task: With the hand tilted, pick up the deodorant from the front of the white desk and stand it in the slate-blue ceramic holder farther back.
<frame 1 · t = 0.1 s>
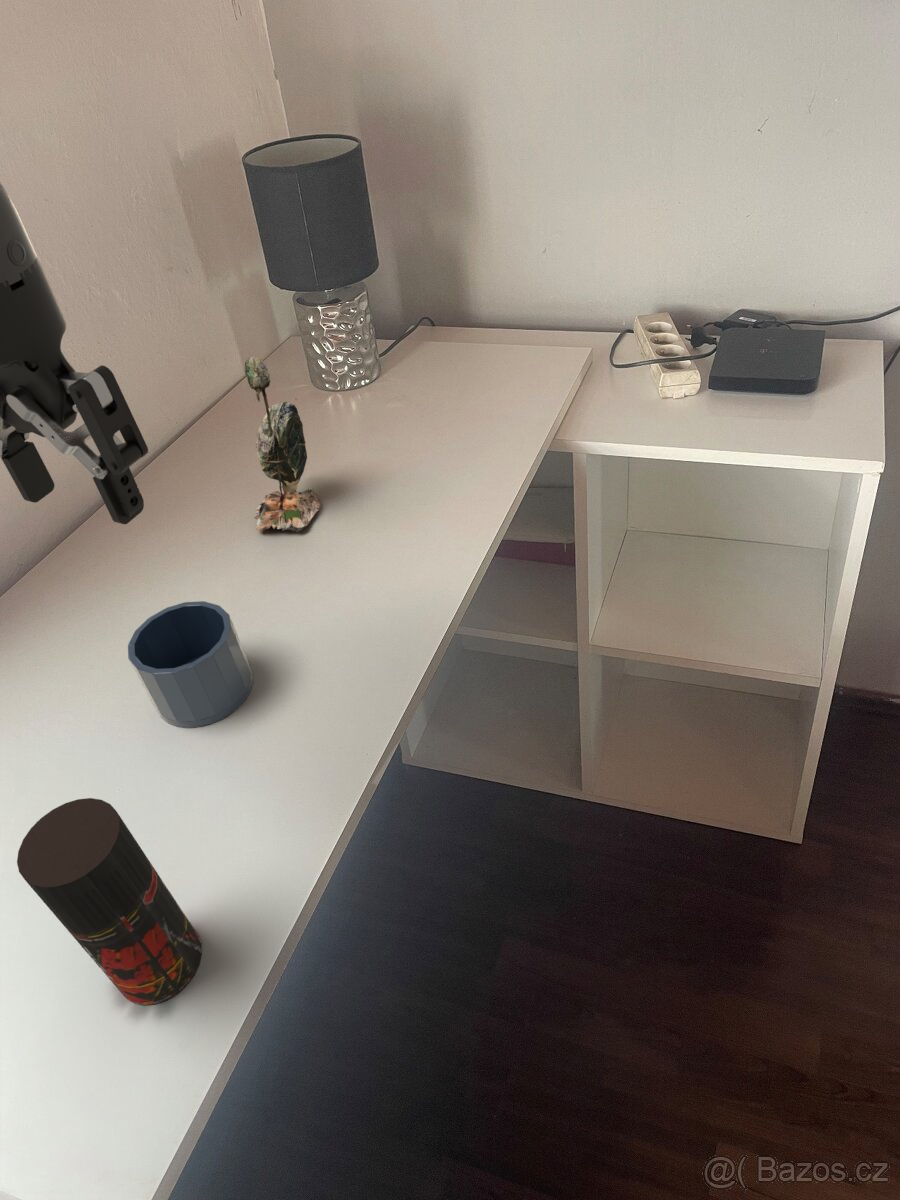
hand: (85, 506, 59), 25 cm above the table, tool pointing down, fingers open, 8 cm apart
plant with pod: (292, 509, 101), on the table
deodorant: (160, 963, 60), on the table
holder: (204, 690, 80), on the table
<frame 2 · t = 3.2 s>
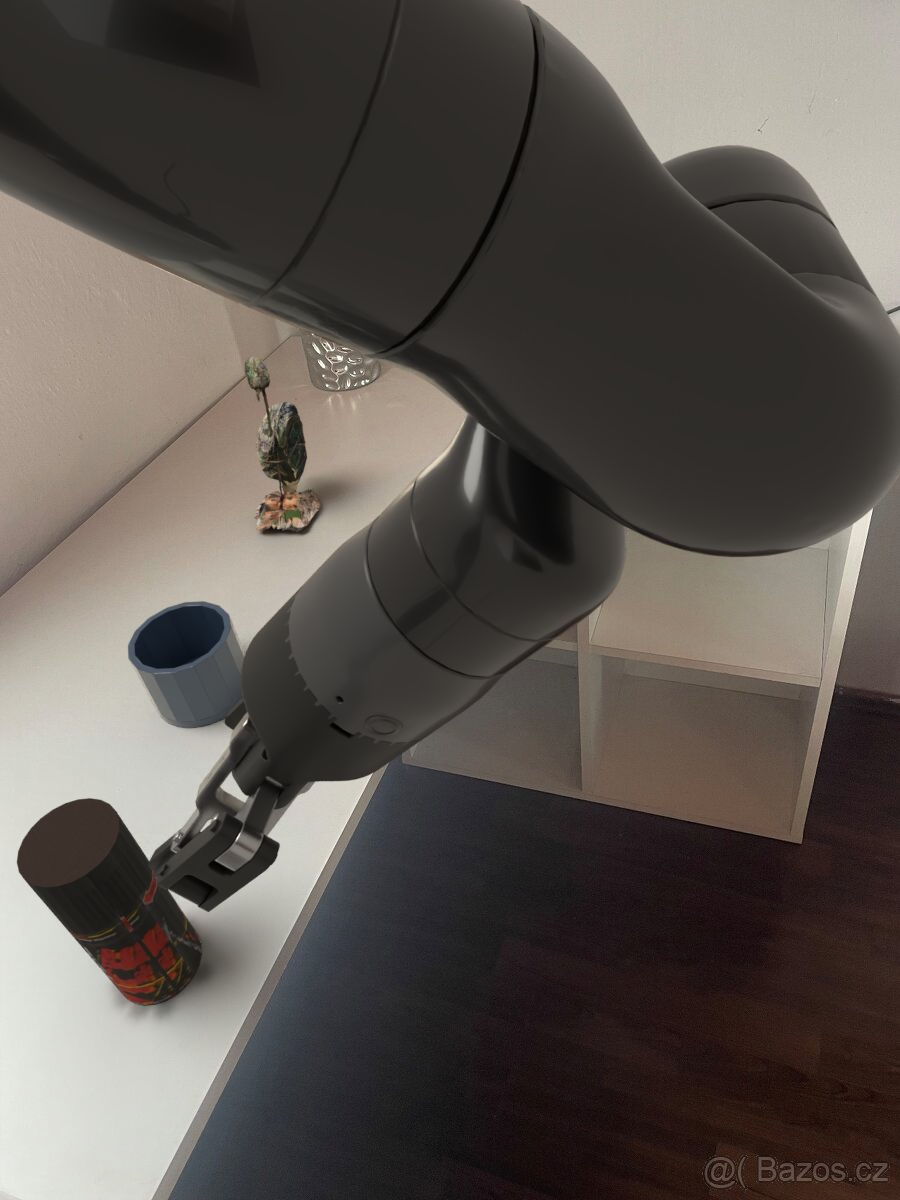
hand: (207, 795, 43), 22 cm above the table, tool tilted 45°, fingers open, 8 cm apart
nothing on the table moved.
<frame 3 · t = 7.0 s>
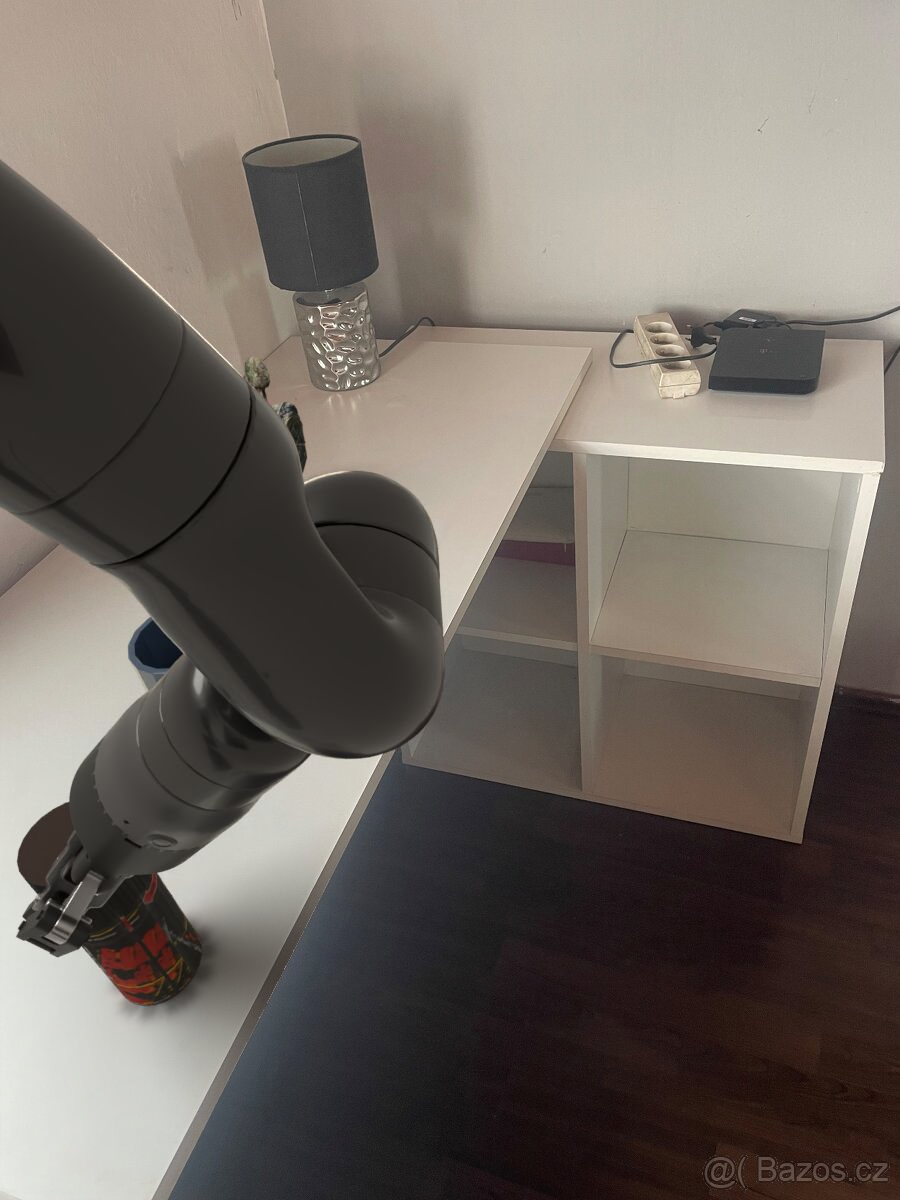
hand: (70, 871, 53), 11 cm above the table, tool tilted 45°, fingers closed on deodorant, 6 cm apart
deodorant: (160, 963, 60), on the table, touching gripper
everything else where it was.
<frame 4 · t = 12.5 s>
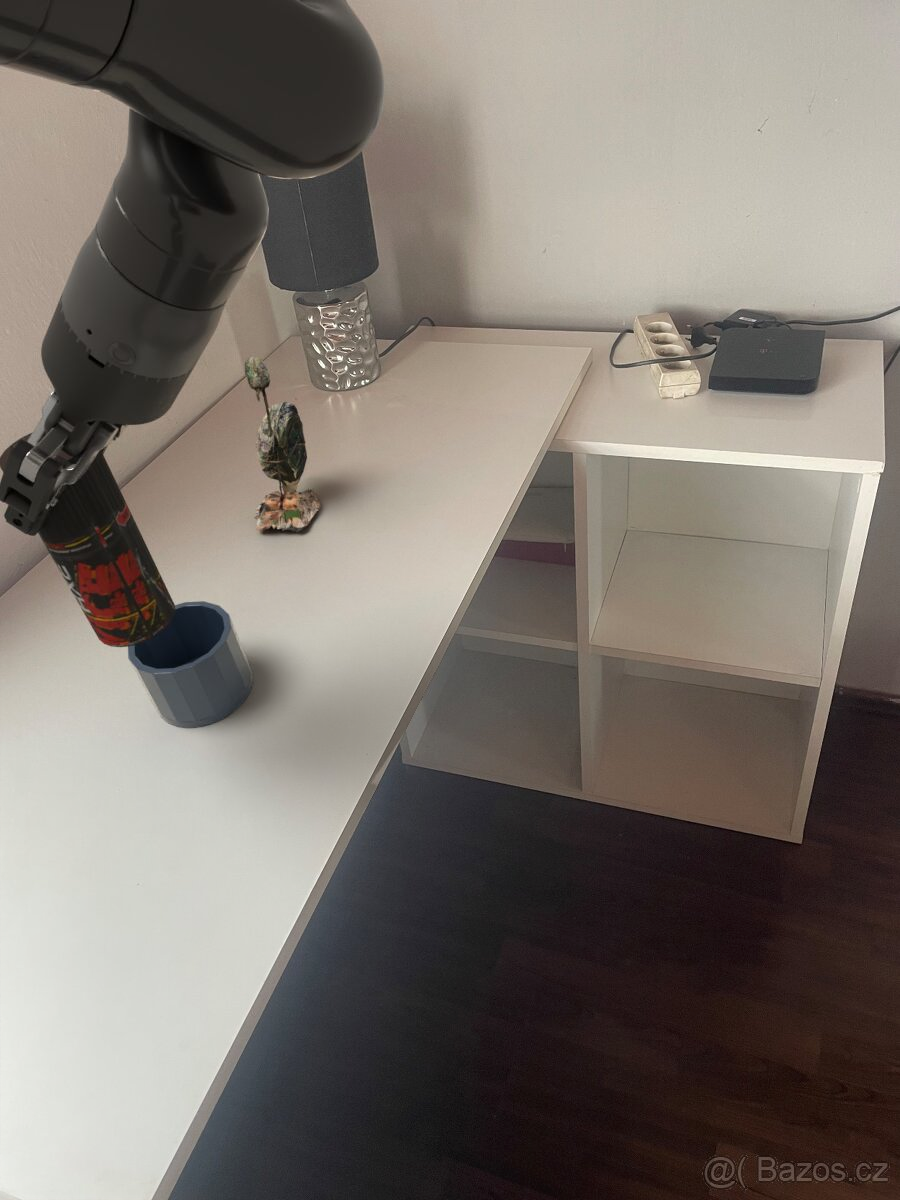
hand: (49, 495, 58), 26 cm above the table, tool tilted 45°, fingers closed on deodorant, 6 cm apart
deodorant: (137, 621, 65), point 15 cm above the table, touching gripper
everything else where it was.
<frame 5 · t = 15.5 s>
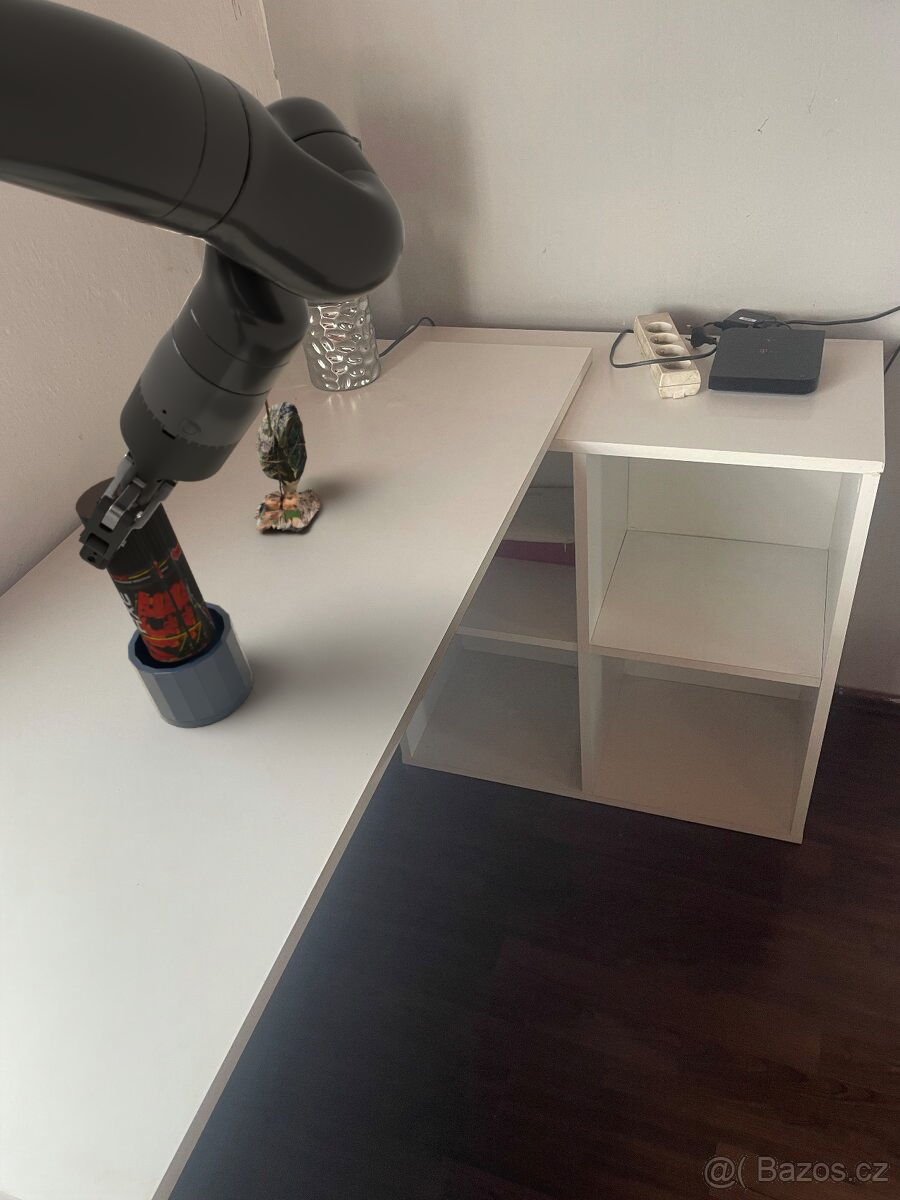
hand: (114, 534, 68), 18 cm above the table, tool tilted 45°, fingers closed on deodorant, 6 cm apart
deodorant: (183, 639, 75), point 7 cm above the table, touching gripper
everything else where it was.
when the fingers open (12 cm above the table, at t = 17.8 s): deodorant stays where it is, resting on holder.
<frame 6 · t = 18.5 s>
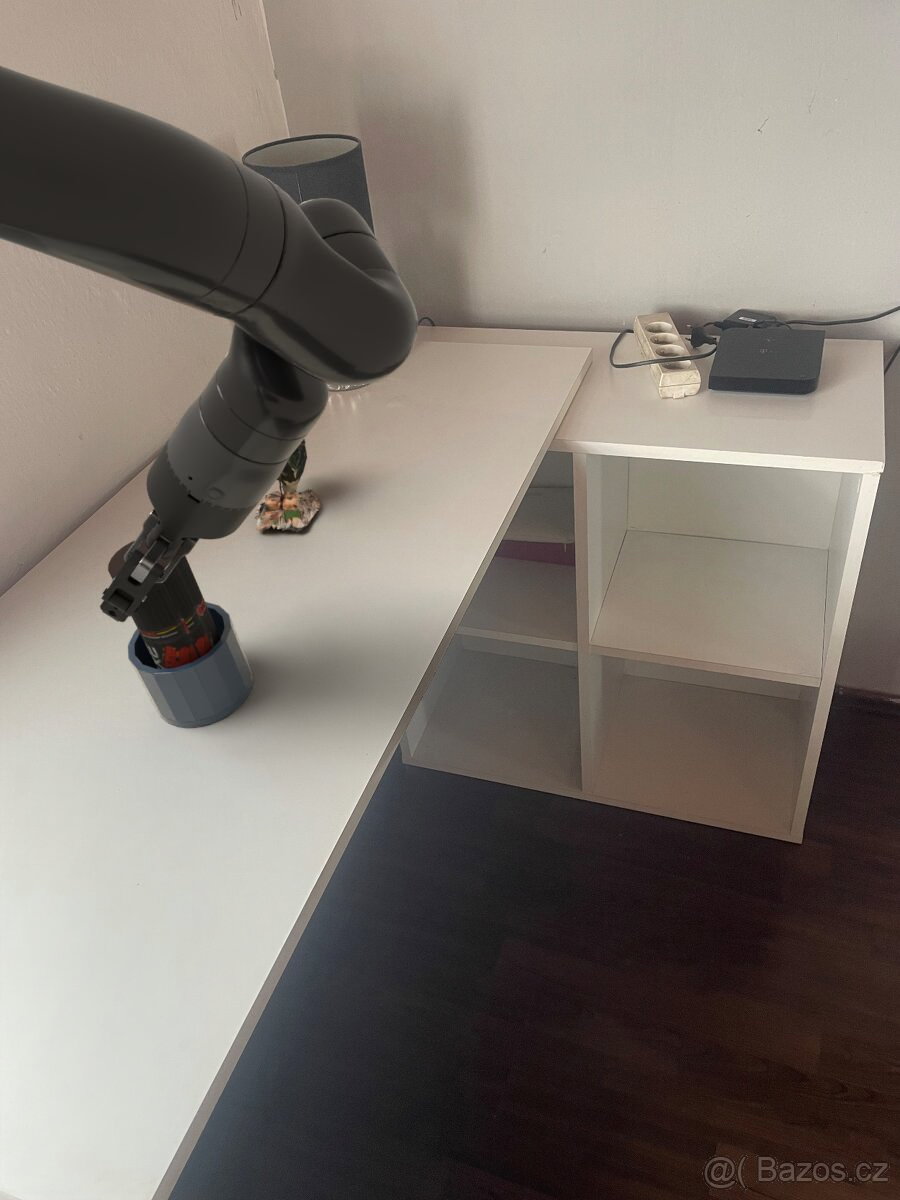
hand: (138, 578, 71), 13 cm above the table, tool tilted 45°, fingers open, 8 cm apart
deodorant: (205, 686, 79), point 1 cm above the table, touching holder
everything else where it was.
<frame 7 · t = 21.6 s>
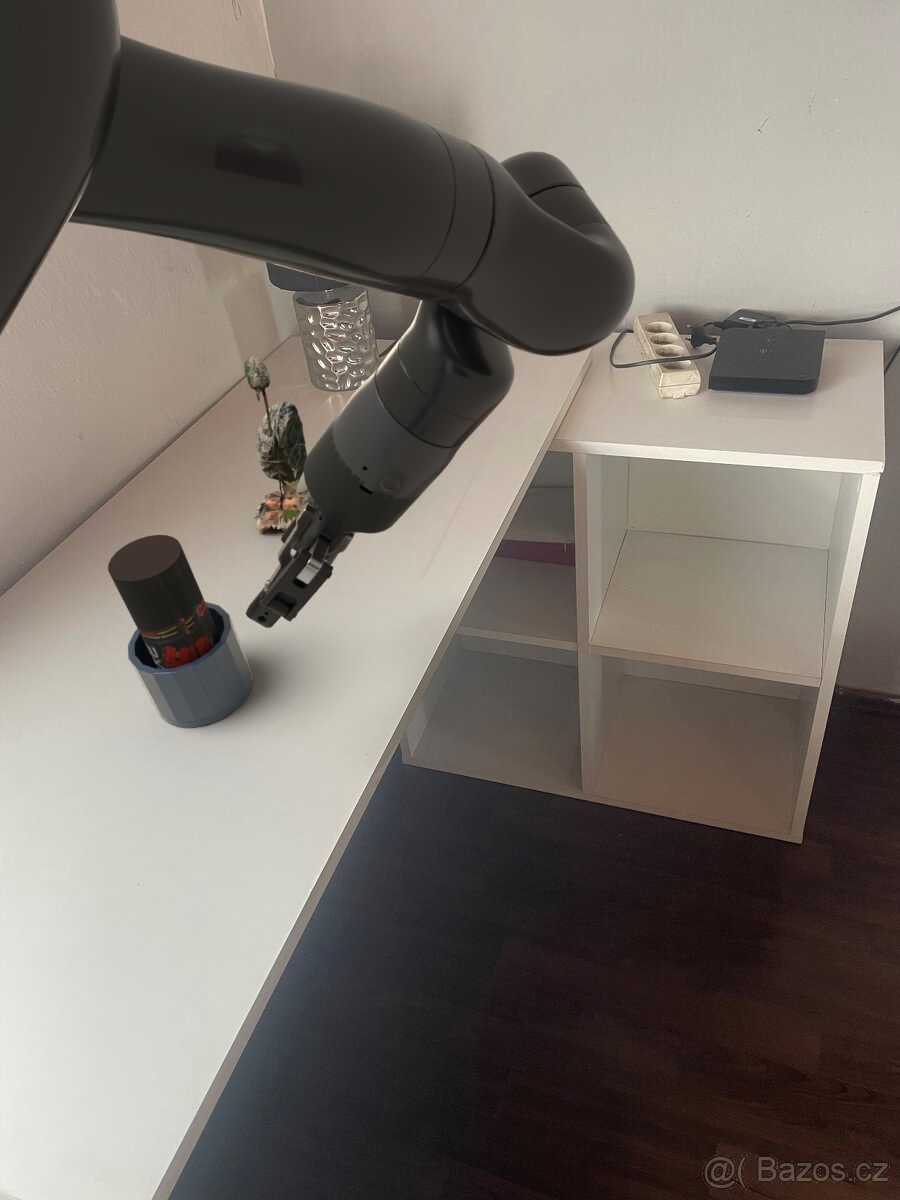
hand: (275, 580, 67), 14 cm above the table, tool tilted 45°, fingers open, 8 cm apart
nothing on the table moved.
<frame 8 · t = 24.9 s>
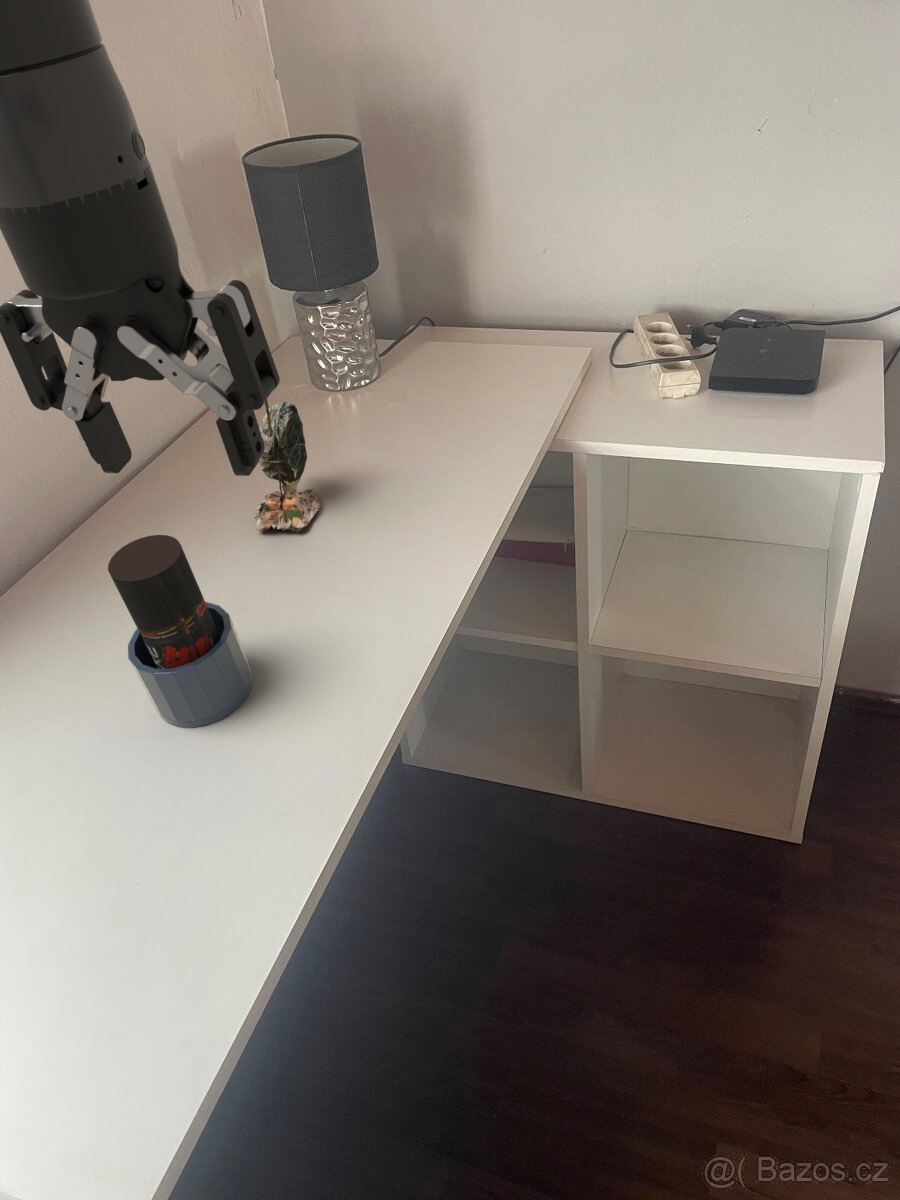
hand: (183, 467, 51), 30 cm above the table, tool pointing down, fingers open, 8 cm apart
nothing on the table moved.
at the end: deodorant 0.2 cm off-centre in the holder, point 0.6 cm above the holder's base; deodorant tilted 0°; the gripper is holding nothing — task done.
